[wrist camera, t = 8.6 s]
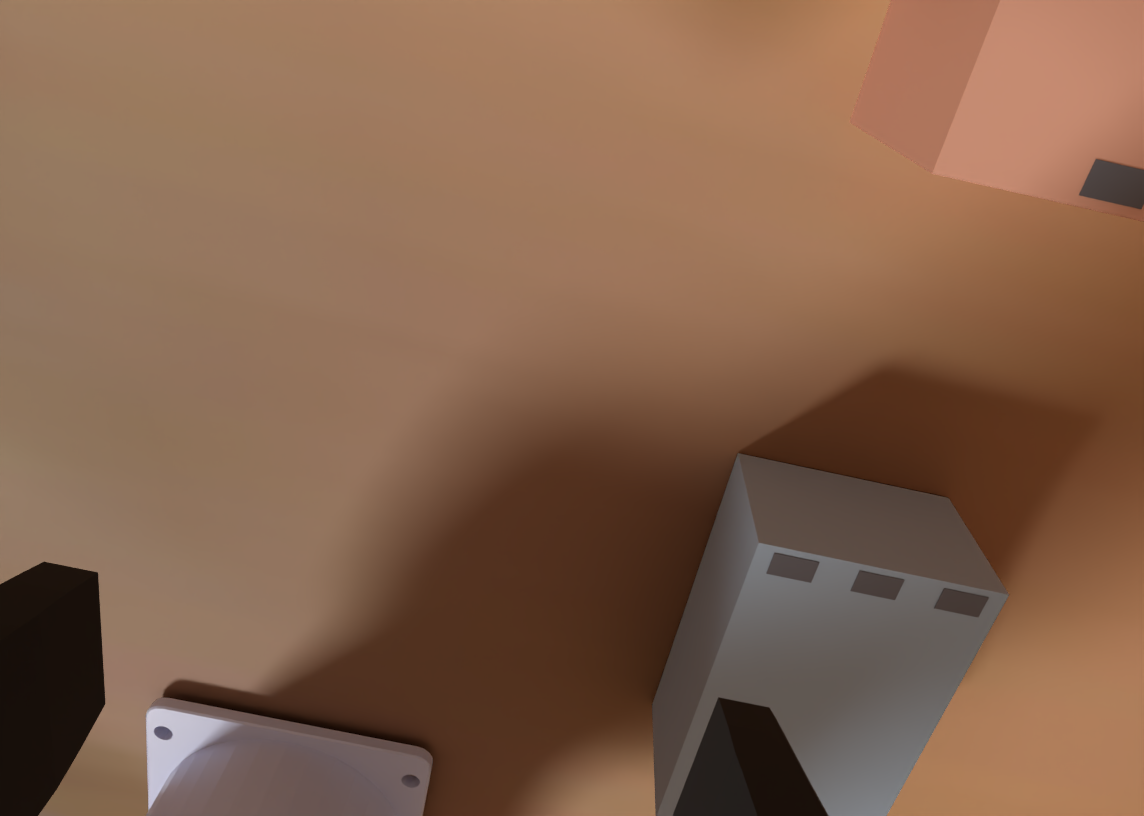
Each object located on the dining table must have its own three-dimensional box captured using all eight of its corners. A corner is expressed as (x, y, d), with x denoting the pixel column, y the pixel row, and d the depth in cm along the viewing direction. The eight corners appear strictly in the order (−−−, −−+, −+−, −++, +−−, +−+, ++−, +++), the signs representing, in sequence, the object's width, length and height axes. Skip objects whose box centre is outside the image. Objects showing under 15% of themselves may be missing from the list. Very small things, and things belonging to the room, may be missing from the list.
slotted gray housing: (831, 740, 23) (862, 858, 20) (652, 704, 23) (656, 819, 20) (948, 497, 20) (1009, 595, 16) (738, 453, 19) (758, 543, 16)
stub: (1098, 179, 16) (1274, 251, 12) (848, 121, 16) (933, 173, 12) (1221, -78, 14) (1487, -107, 10) (939, -146, 14) (1081, -206, 10)
